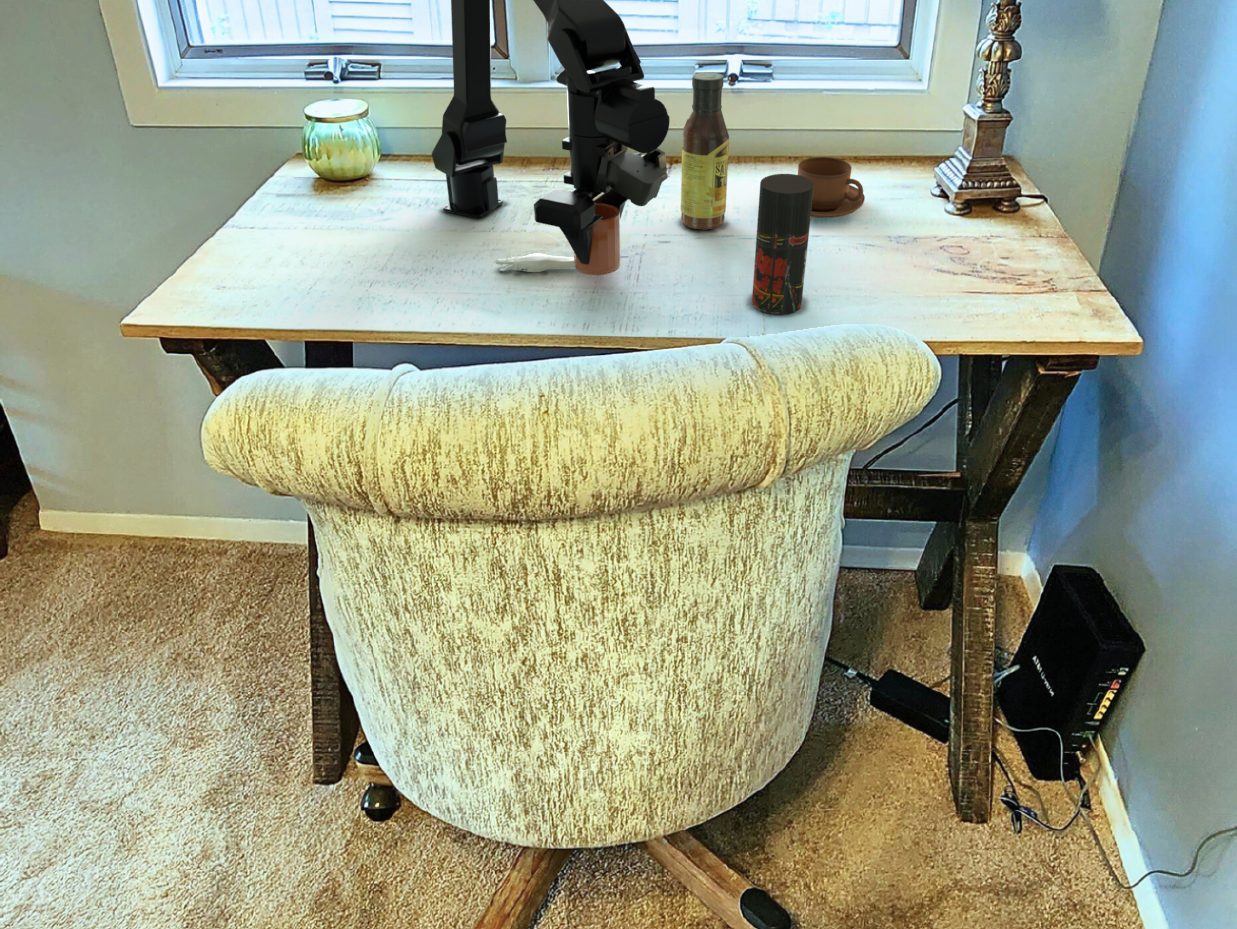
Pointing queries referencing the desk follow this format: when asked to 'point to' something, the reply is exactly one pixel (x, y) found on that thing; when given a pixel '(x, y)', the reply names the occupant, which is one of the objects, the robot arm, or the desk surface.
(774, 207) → the deodorant
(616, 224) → the cup
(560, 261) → the white elongated piece
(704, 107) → the sauce bottle
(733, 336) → the desk surface
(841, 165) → the cup and saucer
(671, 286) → the desk surface
